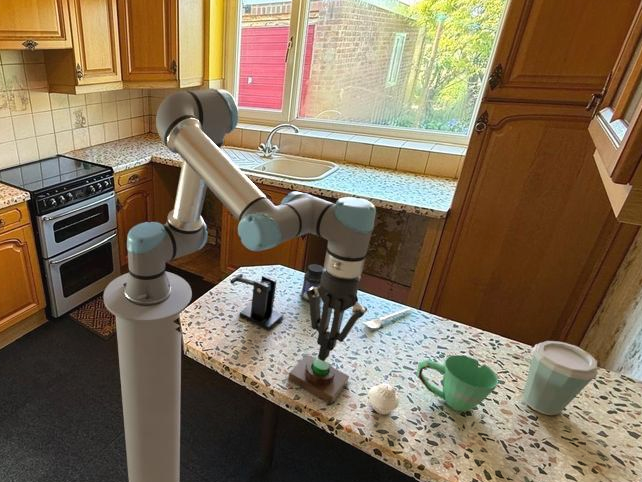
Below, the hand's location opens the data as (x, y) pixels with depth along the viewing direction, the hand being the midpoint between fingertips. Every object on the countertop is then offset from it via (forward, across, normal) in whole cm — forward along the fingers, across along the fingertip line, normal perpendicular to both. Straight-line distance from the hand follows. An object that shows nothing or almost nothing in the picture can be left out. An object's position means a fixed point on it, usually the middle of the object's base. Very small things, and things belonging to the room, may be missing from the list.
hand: (323, 356), depth 94 cm
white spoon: (+8, +4, +37) cm, 38 cm away
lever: (-1, -28, +12) cm, 31 cm away
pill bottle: (+8, -18, +32) cm, 38 cm away
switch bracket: (+8, -24, +12) cm, 28 cm away
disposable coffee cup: (+8, +40, +29) cm, 50 cm away
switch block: (+8, 0, 0) cm, 8 cm away
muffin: (+8, +14, +2) cm, 16 cm away
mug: (+8, +24, +15) cm, 29 cm away
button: (+4, 0, 0) cm, 4 cm away
